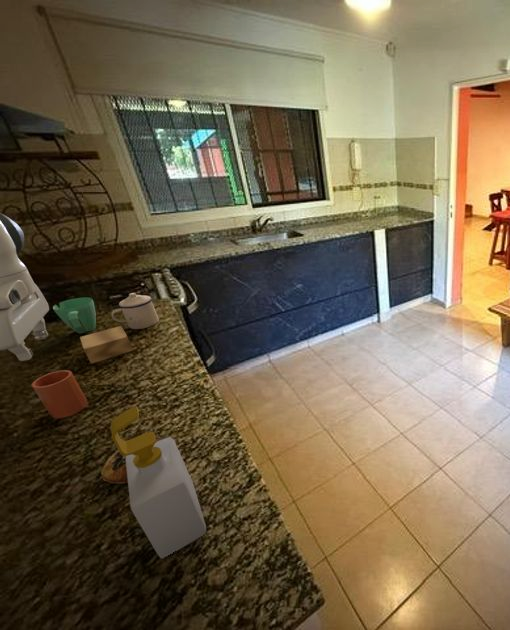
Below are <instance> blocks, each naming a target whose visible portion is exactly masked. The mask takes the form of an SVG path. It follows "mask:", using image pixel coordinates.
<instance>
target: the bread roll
mask: <svg viewBox="0 0 510 630" xmlns="http://www.w3.org/2000/svg"><path fill="white" fill-rule="evenodd" d="M155 437H156V442H158V441H161V440H163V439H164V437H161V436H159V435H156V434H155ZM100 474H101V477H102V480H103V481H104V482H108V483H110V484H115V485H117V484H118V485H119V484H120V485H121V484H122V485H123V484H128V478H127V469H126V456H123V455H121V454H120V452H119V450H118V449H117V450H116V451H115V452H114V453H113V454H112V455H111V456H110V457H109V458H108V459H107V460H106V462H105V464H104V466H103V467H102V469H101V472H100Z"/></svg>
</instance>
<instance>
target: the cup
mask: <svg viewBox="0 0 510 630" xmlns="http://www.w3.org/2000/svg"><path fill="white" fill-rule="evenodd" d="M31 387H32V389H33V390H34V392H35V394H36V395H37V396H38V398H39V400H40V401H41V403H42V404H43V406H44V408H45V409H46V411H47V412H48V414H49V415H50V417H51V418H52V419H64V418H68V417H70V416H73V415H75V414H78V413H79V412H82V410H84V409H85V408H86V407H87V406H88V405H89V402H88V399H87V397H86V396H85V394H84V392H83V390H82V388H81V386H80V385H79V383H78V381H77V379H76V377H75V375H74V374H73V372H72V371H71V370H68V369H64V370H63V369H62V370H61V369H60V370H56V371H52V372H50V373H47V374H44V375H42V376H40V377H37V378H36V379H35V380H34V381H33V382H32V383H31Z"/></svg>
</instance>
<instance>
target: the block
mask: <svg viewBox="0 0 510 630" xmlns="http://www.w3.org/2000/svg"><path fill="white" fill-rule="evenodd" d="M79 339H80V342H81V345H82V348H83V351H84V353H85V355H86V357H87V359H88V361H89V363H90V364H95V363H98V362H101V361H105V360H108V359H110V358H114V357H117V356H120V355H124V354H127V353H130V352H133V351H134V348H133V346H132V343H131V342H130V339H129V337H128V335H127V333H126V332H125V330H124V328H123V326H122V325H119V326H115V327H111V328H108V329H104V330H101V331H96V332H93V333H89V334H85V335H82V336H80V337H79Z"/></svg>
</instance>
